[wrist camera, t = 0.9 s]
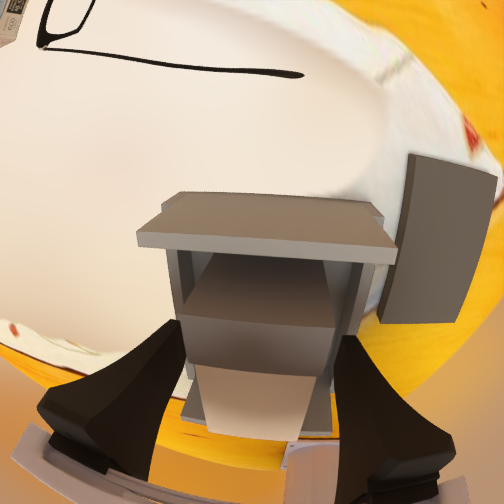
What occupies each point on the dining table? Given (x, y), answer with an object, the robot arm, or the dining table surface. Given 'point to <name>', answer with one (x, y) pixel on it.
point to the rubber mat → (437, 241)
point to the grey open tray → (277, 245)
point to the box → (258, 342)
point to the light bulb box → (10, 19)
